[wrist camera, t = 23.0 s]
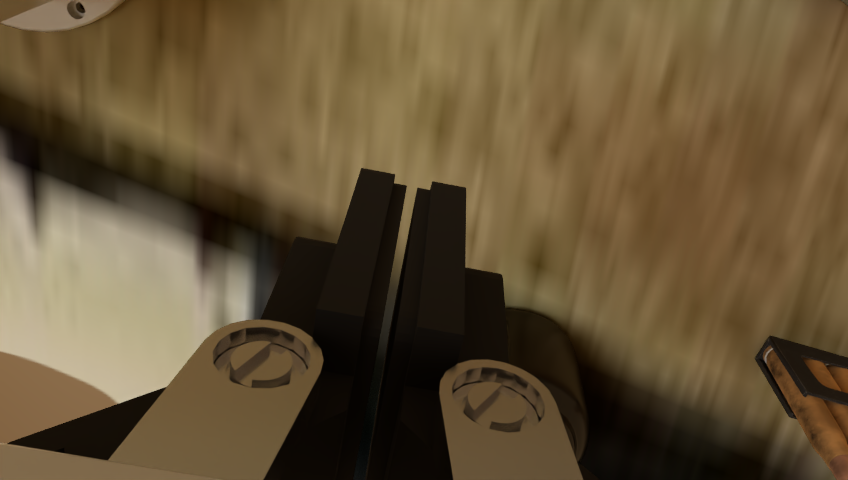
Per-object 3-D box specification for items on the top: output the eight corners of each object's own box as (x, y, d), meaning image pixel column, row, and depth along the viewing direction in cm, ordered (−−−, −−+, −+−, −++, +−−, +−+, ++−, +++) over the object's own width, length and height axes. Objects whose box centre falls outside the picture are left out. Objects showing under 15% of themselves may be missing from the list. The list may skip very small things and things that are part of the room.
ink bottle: (433, 295, 45) (422, 439, 34) (583, 299, 44) (618, 446, 34) (433, 421, 49) (423, 581, 39) (569, 425, 49) (596, 589, 38)
